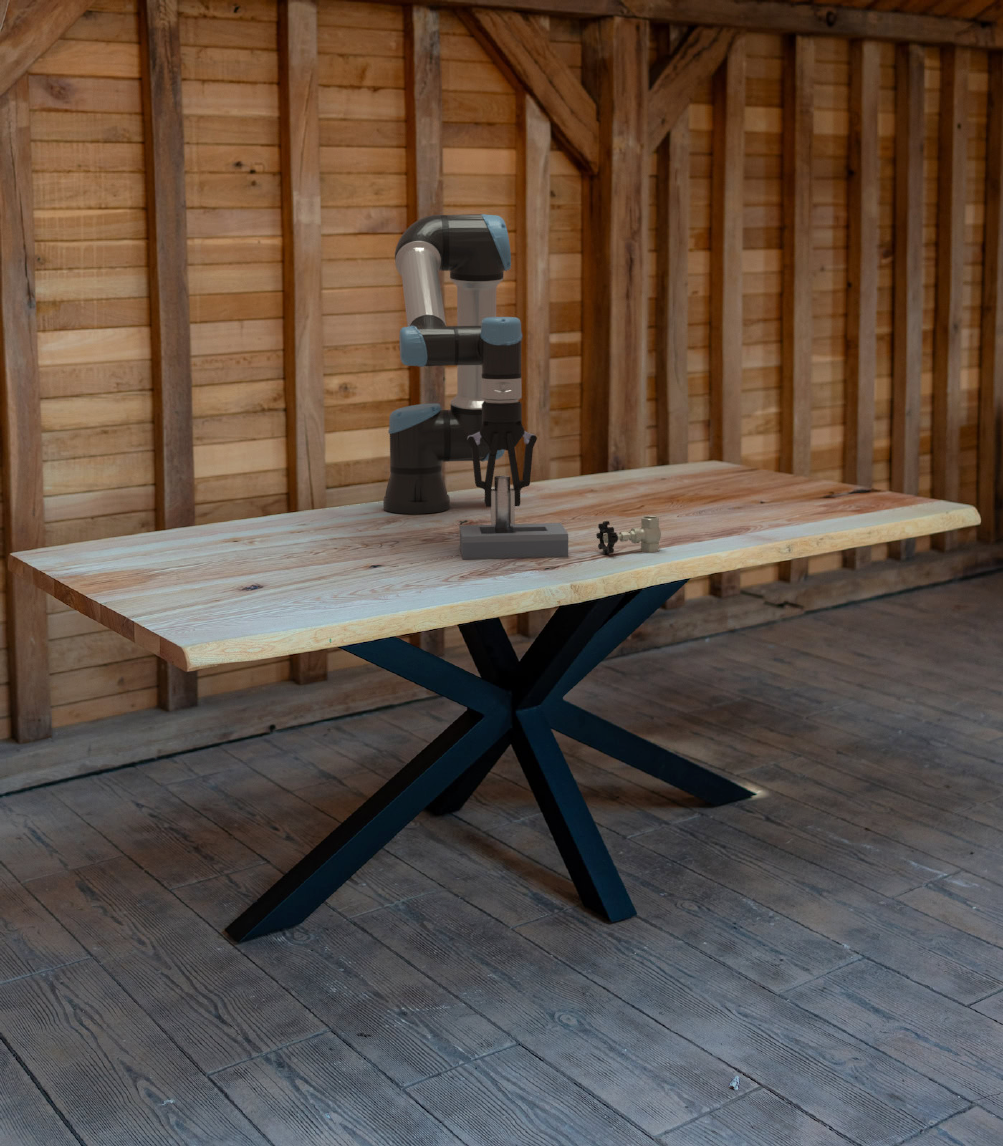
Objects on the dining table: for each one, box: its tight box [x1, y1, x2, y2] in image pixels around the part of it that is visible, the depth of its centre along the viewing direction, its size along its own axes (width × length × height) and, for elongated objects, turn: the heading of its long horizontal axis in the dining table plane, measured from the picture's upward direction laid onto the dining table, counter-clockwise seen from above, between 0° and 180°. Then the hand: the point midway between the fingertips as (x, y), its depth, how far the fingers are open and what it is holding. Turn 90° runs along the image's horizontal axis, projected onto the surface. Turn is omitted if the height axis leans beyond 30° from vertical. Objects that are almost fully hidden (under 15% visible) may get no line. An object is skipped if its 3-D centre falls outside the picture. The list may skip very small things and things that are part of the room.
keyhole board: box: [458, 522, 569, 560], centre depth 260 cm, size 20×11×4 cm, turn 95°
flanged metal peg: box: [493, 475, 511, 533], centre depth 259 cm, size 5×5×14 cm
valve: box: [596, 515, 662, 556], centre depth 259 cm, size 7×7×12 cm
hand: (502, 522), depth 259 cm, fingers closed on flanged metal peg, 3 cm apart
